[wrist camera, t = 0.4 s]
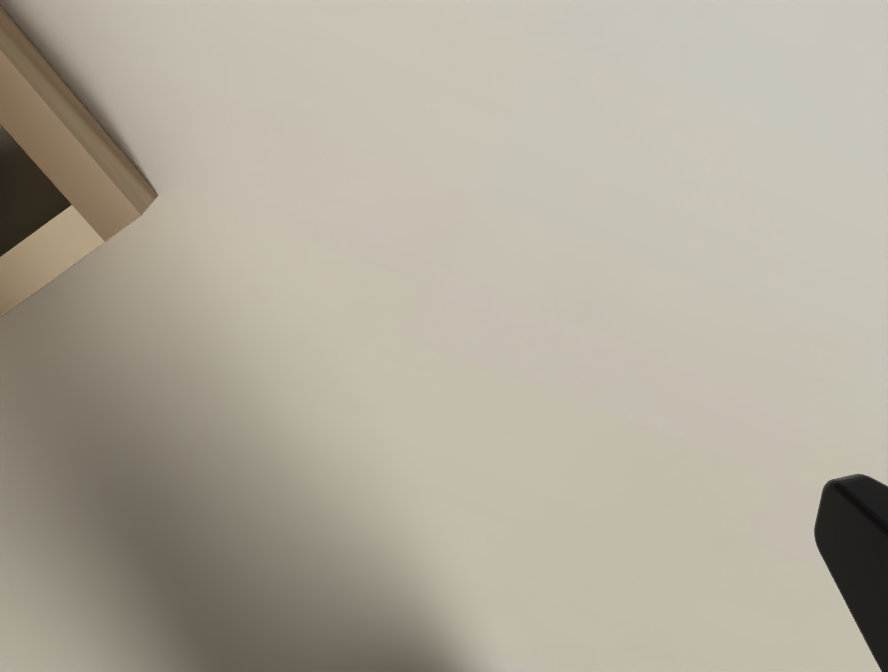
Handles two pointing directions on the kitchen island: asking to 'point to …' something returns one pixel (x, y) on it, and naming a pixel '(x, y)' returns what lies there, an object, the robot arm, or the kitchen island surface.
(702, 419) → the kitchen island surface
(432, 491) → the kitchen island surface
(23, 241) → the rail
